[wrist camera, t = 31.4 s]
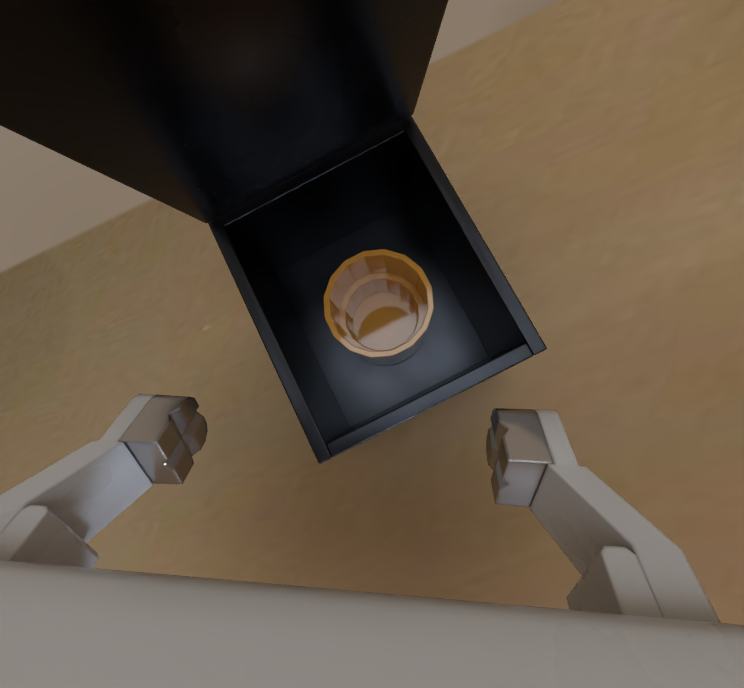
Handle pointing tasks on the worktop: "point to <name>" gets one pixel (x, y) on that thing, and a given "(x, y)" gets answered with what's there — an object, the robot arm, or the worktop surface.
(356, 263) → the golden yellow cup
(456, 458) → the worktop surface
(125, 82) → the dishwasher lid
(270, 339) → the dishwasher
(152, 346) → the worktop surface
